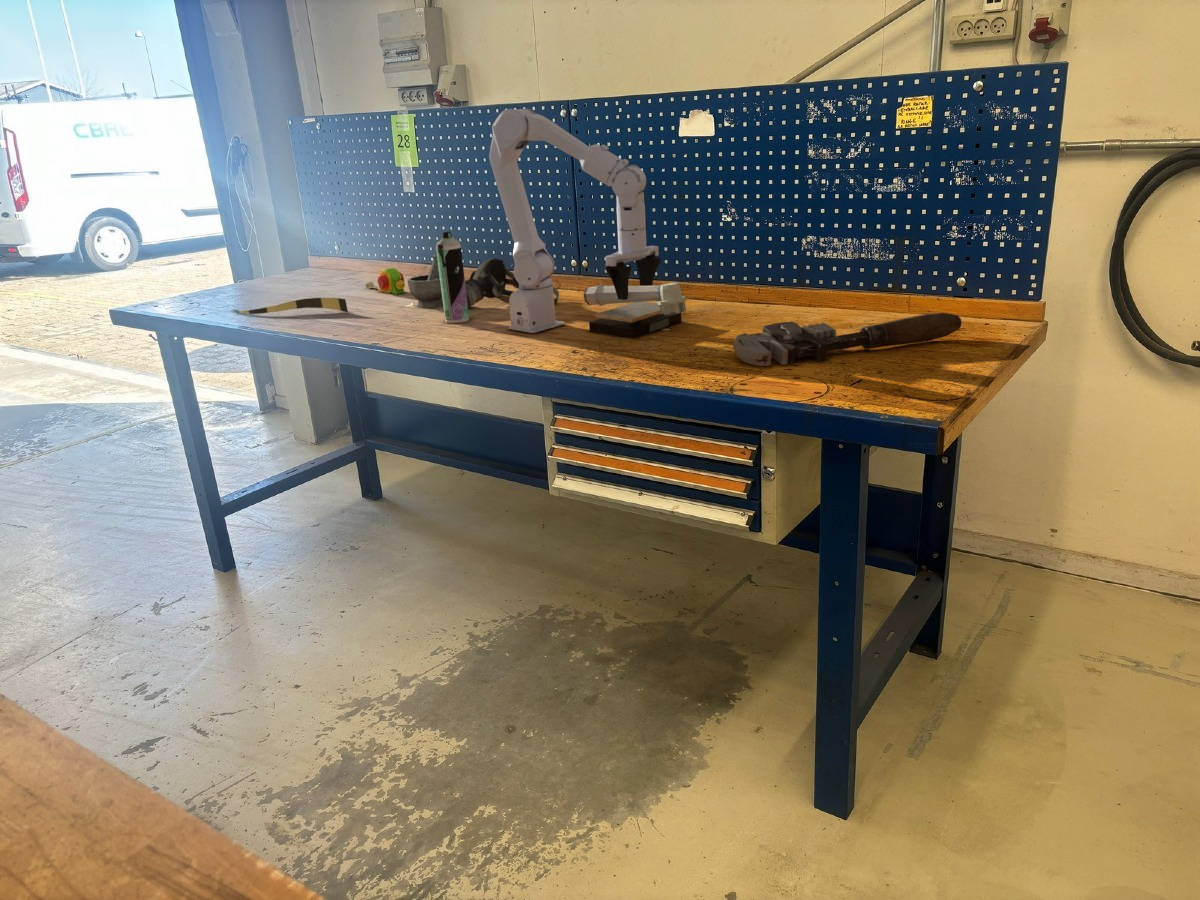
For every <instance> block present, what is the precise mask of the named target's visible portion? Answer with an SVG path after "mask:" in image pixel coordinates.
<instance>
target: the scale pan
mask: <svg viewBox="0 0 1200 900" xmlns="http://www.w3.org/2000/svg"><path fill="white" fill-rule="evenodd" d="M658 314H660V307H659V305H657V302H650V301H643V302H630V303H628V304H627V303H626V304H624V305H621V306H617V307H614V308H611V309H607V310H605V311H601V312H597V313H595V314H594V315H595V318H596V319H601V318H602V319H609V320H616V321H623V322H630V323H633V322H636V321H639V320H642V319H645V318H649V317H652V316H655V315H658Z"/></svg>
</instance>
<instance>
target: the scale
mask: <svg viewBox="0 0 1200 900" xmlns="http://www.w3.org/2000/svg"><path fill="white" fill-rule="evenodd" d="M681 322H682V312H681V313H676V312H671V314H666V315H664V313H663V314H658V315H655V316H652V317H649V318H645V319H642V320H639V321H636V322H633V323H630V322H623V321H616V320H609V319H602V318H597V319H595V320H592V321H589V322H588V325H589V326H588V327H589V332H591V333H598V334H605V335H611V336H617V337H624V338H629V339H634V338H638V337H641V336H645V335H647V334H650V333H653V332H656V331H658V330H662V329H665V328H668V327H670V326H673V325H676V324H679V323H681Z"/></svg>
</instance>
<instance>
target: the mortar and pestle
mask: <svg viewBox="0 0 1200 900" xmlns="http://www.w3.org/2000/svg"><path fill="white" fill-rule="evenodd" d="M407 286H408V289H409V292H410V294H411V296H412V297H413V298H415V299H416V300H417V302H418V303H417V306H418V308H422V309H430V308H438V307H441V306H443V299H442V291H441V283H440V275H439V267H438V259H437V253H436V254H435V253H434V254H433V255H432V262H431V267H430V269H429V272H428V274H423V275H416V276H412V277H409V278H408V279H407Z"/></svg>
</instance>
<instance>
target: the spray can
mask: <svg viewBox="0 0 1200 900" xmlns="http://www.w3.org/2000/svg"><path fill="white" fill-rule="evenodd" d="M435 245H436V247H435V251H436V254H437V259H438V267H439V275H440V283H441V291H442V301H443V305H442V307H443V313H444V321H445V323H447V324H462V323H466V322H469V321H470V313H469V308H468V303H467V295H466V286H465V281H466V279H465V270H464V269H465V268H464V261H463V252H462V245H461V241H459V240H457V239H455V237H454V236H453V235H452V232H451V231H445V232H442V236H441V238H440V240H439V241H438V242H437V243H436V244H435Z"/></svg>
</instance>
